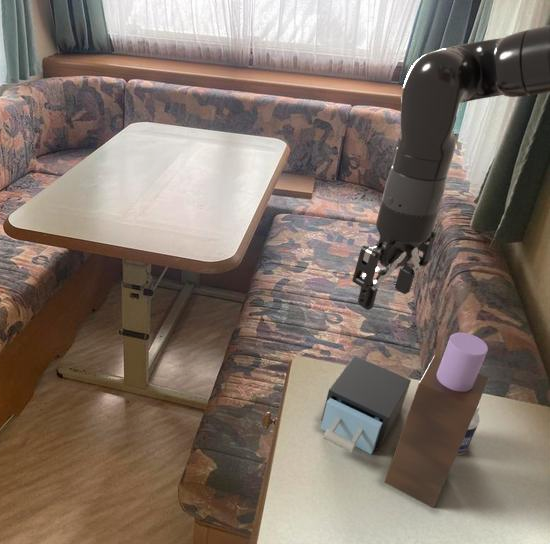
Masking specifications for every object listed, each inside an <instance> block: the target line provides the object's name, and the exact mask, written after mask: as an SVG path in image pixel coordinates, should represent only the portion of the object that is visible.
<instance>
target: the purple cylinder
mask: <svg viewBox="0 0 550 544" xmlns="http://www.w3.org/2000/svg"><path fill="white" fill-rule="evenodd" d="M488 352H489V347H488V345H487V342H485V341H484V340H483V339H481V338H479V337H478V336H476V335H473V334H471V333H467V332H455V333H453V334H451V335H450V336H449V339H448V342H447V345H446V347H445V350H444V353H443V356H442V361H441V363H440V366H439V369H438V371H437V379H438V380H439V382H440V383H441V384H442V385H444V386H445V387H447V388H449V389H451V390H454V391H458V392H466V391H469V390H471V389H472V387H473V385H474V382H475V380H476V378H477V375H478V373H479V374H480V370H481V368H482V365H483V363H484V361H485V358H486V356H487V353H488Z"/></svg>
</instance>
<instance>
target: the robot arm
mask: <svg viewBox="0 0 550 544" xmlns="http://www.w3.org/2000/svg"><path fill="white" fill-rule="evenodd" d="M548 93H550V24H548V25H544V26H543V25H542V26H540V27H534V28H530V29H526V30H522V31H518V32H514V33H512V34H510V35H506V36H503V37H499V38H493V39H486V40H480V41H474V42H469V43H462V44H457V45H453V46H449V47H445V48H441V49H438V50H434V51H431V52H428V53H425V54H424V55H422V56H421V57H420V58H418V59H417V60H416V61H415V62H414V63H413V65H411V67H410V69H409V71H408V73H407V75H406V78H405V80H404V84H403V87H402V93H401V101H400V102H401V103H400V118H399V126H400V127H399V129H400V135H399V139H398V142H397V145H396V150H395V153H394V158H393V161H392V165H391V169H390V171H389V174H388V177H387V178H386V182H385V185H384V188H383V189H384V190H383V194H382V198H381V202H380V205H379V210H378V212H377V213H378V214H377V218H376V221H375V228H376V229H377V231H378V233H379V238H378V240H377V243H376V245H375V246H373V247H370V246H368V245H366V244H364V245H363V246H362V247H361V248H360V251H359V255H358V258H357V262H356V265H355V268H354V272H353V277H352V279H351V280H352V282H353V283H354V284H356V285H357V286H358V287H360V291H359V295H358V298H357V303H358V305H359V307H361V308H363V309H365V310H366V311H369V310H372V309H373V308H374V305H375V301H376V297H377V293H378V290H379V289H378V288H379V286H380V285H381V283H382V282H383V281H384V280H385V279H388V278H390V277H391V275H392V274H393V272H394V271H395V270H396V269H398V268H399V267H400V268H399V272H398V275H397V277H396V278H397V279H396V282H395V286H394V288H395V290H396V291H398V292H400V293H401V294H403V295H407V294H409V293H410V292H411V288H412V285H413V281H414V279H415V275H416V274H418V272H420V270H421V267H424V268H425V267H427V265H428V264H429V261H430V257H431V254H432V250H433V247H434V243H435V240H436V236H437V232H435V231H434V227H435V223H436V220H437V217H438V213H439V211H440V207H441V204H442V200H443V197H444V194H445V189H446V181H447V178H448V175H449V171H450V167H451V164H452V161H453V158H454V154H455V151H456V145H457V136H456V134H455V132H454V131H453V127H454V124H455V118H456V115H457V111H458V108H459V105H460V104H463V103H467V102H472V101H476V100H482V99H489V98H494V97H499V96H505V97H508V98H518V97H519V98H520V97H528V96H535V95H542V94H548ZM420 252H422V255H420V254H419V253H420ZM378 264H380V265H381V266H382V267H384V269H382V268H381V267H379V266H378ZM375 274H377V275H376V277H375ZM374 277H375V279H374Z"/></svg>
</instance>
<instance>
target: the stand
mask: <svg viewBox="0 0 550 544" xmlns="http://www.w3.org/2000/svg"><path fill="white" fill-rule="evenodd" d="M442 358H443V357H442ZM442 358H441V357H439V356H437V355H433V357H432V358H431V360H430V363H429V364H428V366H427V367H426V369H425V371H424V374H423V375H422V377H421V378H420V381H419V382H418V385H417V387H416V392H415V394H414V396H413V399H412V402H411V405H410V408H409V411H408V412H407V413H408V414H407V416H406V419H405V422H404V425H403V428H402V430H401V434H400V436H399V439H398V442H397V444H396V449H395V450H394V453H393V456H392V459H391V462H390V465H389V468H388V471H387V473H386V476H385V478H384V483H385V484H386V485H388V486H390V487H392V488H394V489H396V490H398V491H399V492H401V493H403V494H405V495H407V496H409V497H411V498H413V499H415V500H416V501H418V502H421V503H423V504H424V505H426V506H428V507H430V508H432V509H434V507H435V506H436V504H437V501H438V499H439V497H440V494H441V491H442V489H443V488H444V485H445V482H446V481H447V478H448V476H449V474H450V471H451V470H452V469H451V468H452V466H453V464H454V462H455V459H456V457H457V456H458V455H457V453H458V450H459V448H460V446H461V443H462V441H463V439H464V437H465V434H466V432H467V430H468V427H469V425H470V423H471V420H472V418H473V416H474V414H475V411H476V409H477V407H478V404H479V402H480V401H481V399H482V397H483V394H484V392H485V389H486V386H487V384H488V381H489V377H488V376H486V375H484V374H482V373H480V372H479V373H478V375H477V378H476V380H475V382H474V385H473V387H472V389H471V390H469V391H466V392H458V391H454V390H451V389H449V388H447V387H445V386H444V385H442V384H441V383H440V382H439V380H438V379H437V371H438V369H439V366H440V363H441V361H442Z"/></svg>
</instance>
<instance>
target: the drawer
mask: <svg viewBox="0 0 550 544" xmlns="http://www.w3.org/2000/svg"><path fill="white" fill-rule="evenodd" d="M325 404H326V403H325ZM324 408H325V407H324ZM323 412H324V411H323ZM322 416H323V415H322ZM321 420H322V419H321ZM382 421H383V419H381V418H379V417H377V416H375V415H372V414H370V413H368V412H366V411H364V410H362V409H360V408H358V407H356V406H353V405H351V404H349V403H347V402H345V401H343V400H341V399H339V398H337V400H334V399H332V398H329V400H328V401H327V404H326V408H325V412H324V416H323V420H322V421H321V424H320V430H322V431H324V434H323V439H324V440H326V441H328V442H330V443H332V444H334V445H335V446H338V447H340V448H342V449H344V450H345V451H347V452H349V453H354V451H355V449H356V448H358V449H360V450H362V451H363V452H366V453H367V454H370V455H372V454H373V452H374V451H375V449H376V448H375V445H376V442H377V439H378V436H379V433H380V430H381V427H382V424H383V423H382Z"/></svg>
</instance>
